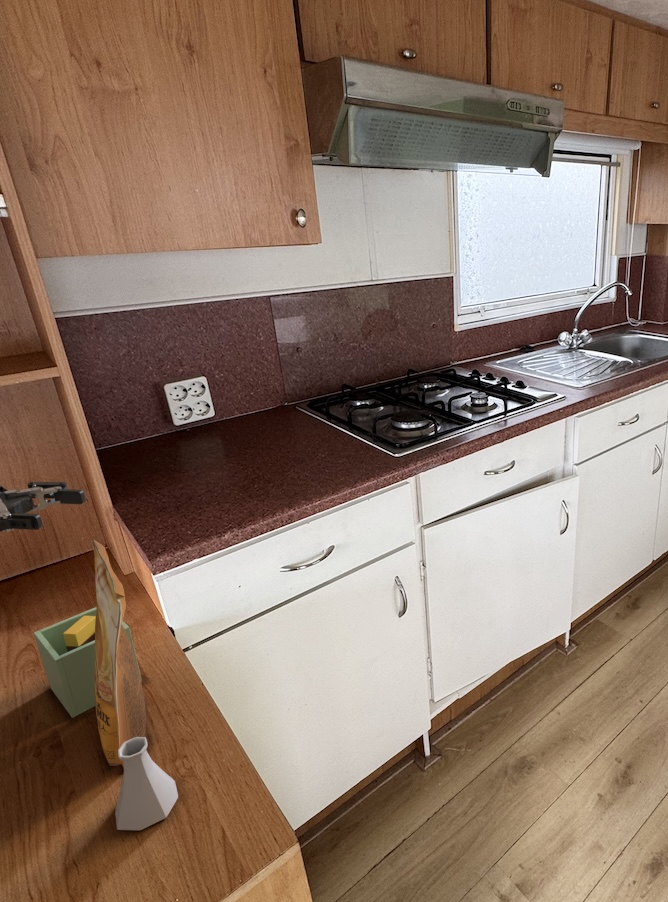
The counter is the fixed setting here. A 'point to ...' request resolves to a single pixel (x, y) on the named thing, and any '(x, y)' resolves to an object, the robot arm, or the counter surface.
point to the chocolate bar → (80, 633)
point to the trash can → (71, 665)
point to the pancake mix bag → (114, 665)
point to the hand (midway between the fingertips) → (62, 509)
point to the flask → (142, 788)
